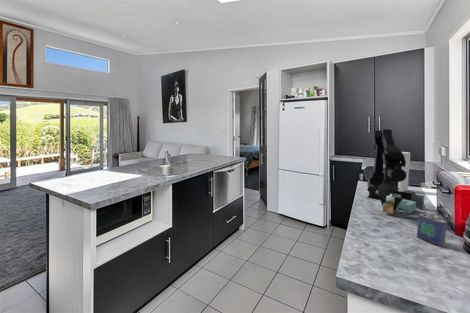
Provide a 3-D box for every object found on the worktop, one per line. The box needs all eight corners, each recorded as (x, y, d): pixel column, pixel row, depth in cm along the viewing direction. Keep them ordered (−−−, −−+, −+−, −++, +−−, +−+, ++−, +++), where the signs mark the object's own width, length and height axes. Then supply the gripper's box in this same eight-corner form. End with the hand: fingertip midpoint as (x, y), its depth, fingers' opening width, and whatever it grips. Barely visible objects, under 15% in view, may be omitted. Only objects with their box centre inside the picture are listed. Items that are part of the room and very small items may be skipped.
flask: (446, 246, 83) (449, 216, 82) (440, 248, 82) (442, 217, 81) (419, 235, 92) (422, 208, 91) (413, 236, 91) (415, 209, 90)
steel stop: (391, 203, 132) (391, 190, 131) (394, 201, 134) (395, 189, 133) (422, 209, 120) (423, 196, 120) (424, 208, 123) (426, 194, 122)
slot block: (383, 207, 124) (384, 199, 123) (390, 204, 128) (391, 196, 128) (409, 213, 115) (409, 205, 114) (415, 210, 119) (416, 201, 119)
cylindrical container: (409, 192, 154) (412, 153, 151) (397, 191, 155) (399, 153, 152) (404, 189, 161) (407, 152, 158) (392, 189, 162) (394, 151, 159)
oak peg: (382, 211, 115) (383, 203, 114) (389, 206, 121) (389, 199, 121) (392, 213, 112) (392, 205, 111) (398, 208, 118) (399, 200, 118)
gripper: (362, 176, 116) (360, 207, 118) (407, 183, 101) (404, 219, 103) (373, 173, 122) (372, 203, 124) (417, 179, 107) (414, 213, 109)
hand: (389, 209), depth 115 cm, fingers closed on oak peg, 4 cm apart
